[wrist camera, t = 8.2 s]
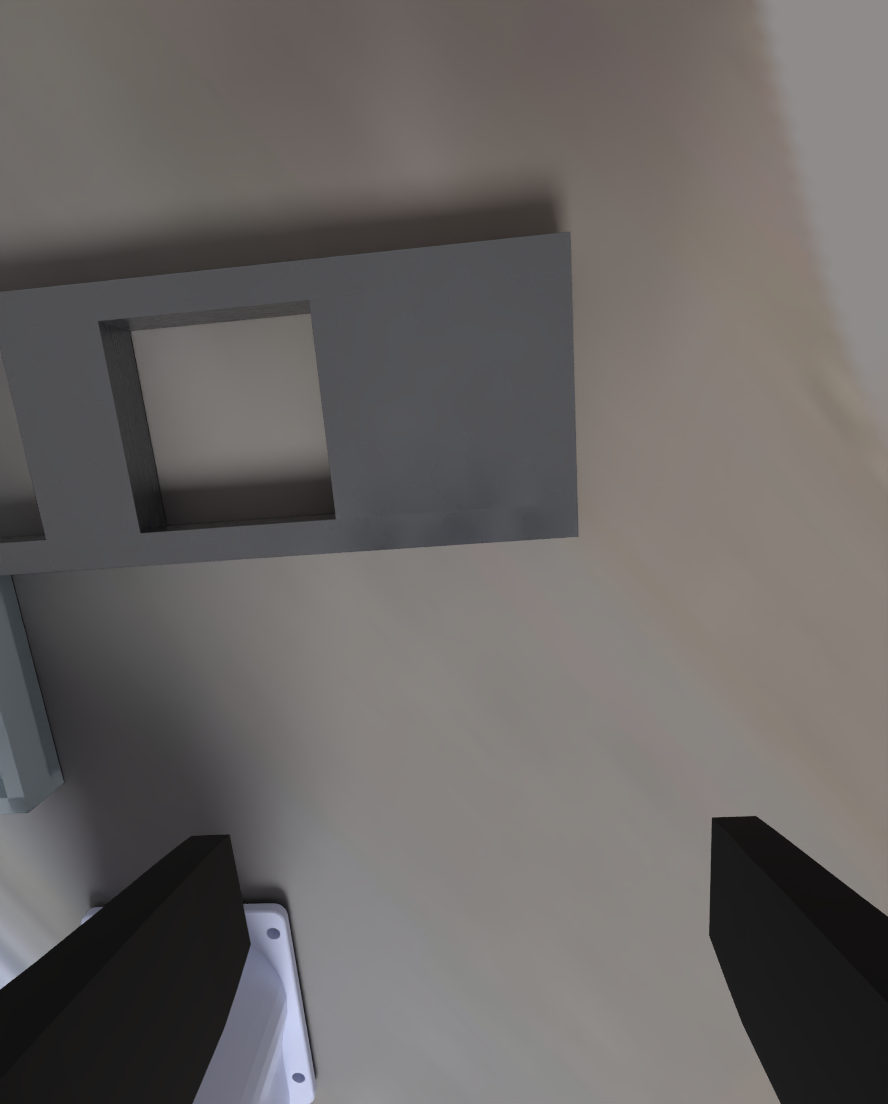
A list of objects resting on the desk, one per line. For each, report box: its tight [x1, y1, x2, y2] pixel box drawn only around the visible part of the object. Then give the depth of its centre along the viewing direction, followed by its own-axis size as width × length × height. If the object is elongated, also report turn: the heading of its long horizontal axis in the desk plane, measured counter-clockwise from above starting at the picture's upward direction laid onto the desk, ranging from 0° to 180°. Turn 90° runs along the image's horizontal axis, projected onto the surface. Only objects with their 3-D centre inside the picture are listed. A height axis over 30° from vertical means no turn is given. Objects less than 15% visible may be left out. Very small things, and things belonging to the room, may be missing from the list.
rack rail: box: [0, 232, 578, 575], centre depth 16 cm, size 8×26×1 cm, turn 95°
